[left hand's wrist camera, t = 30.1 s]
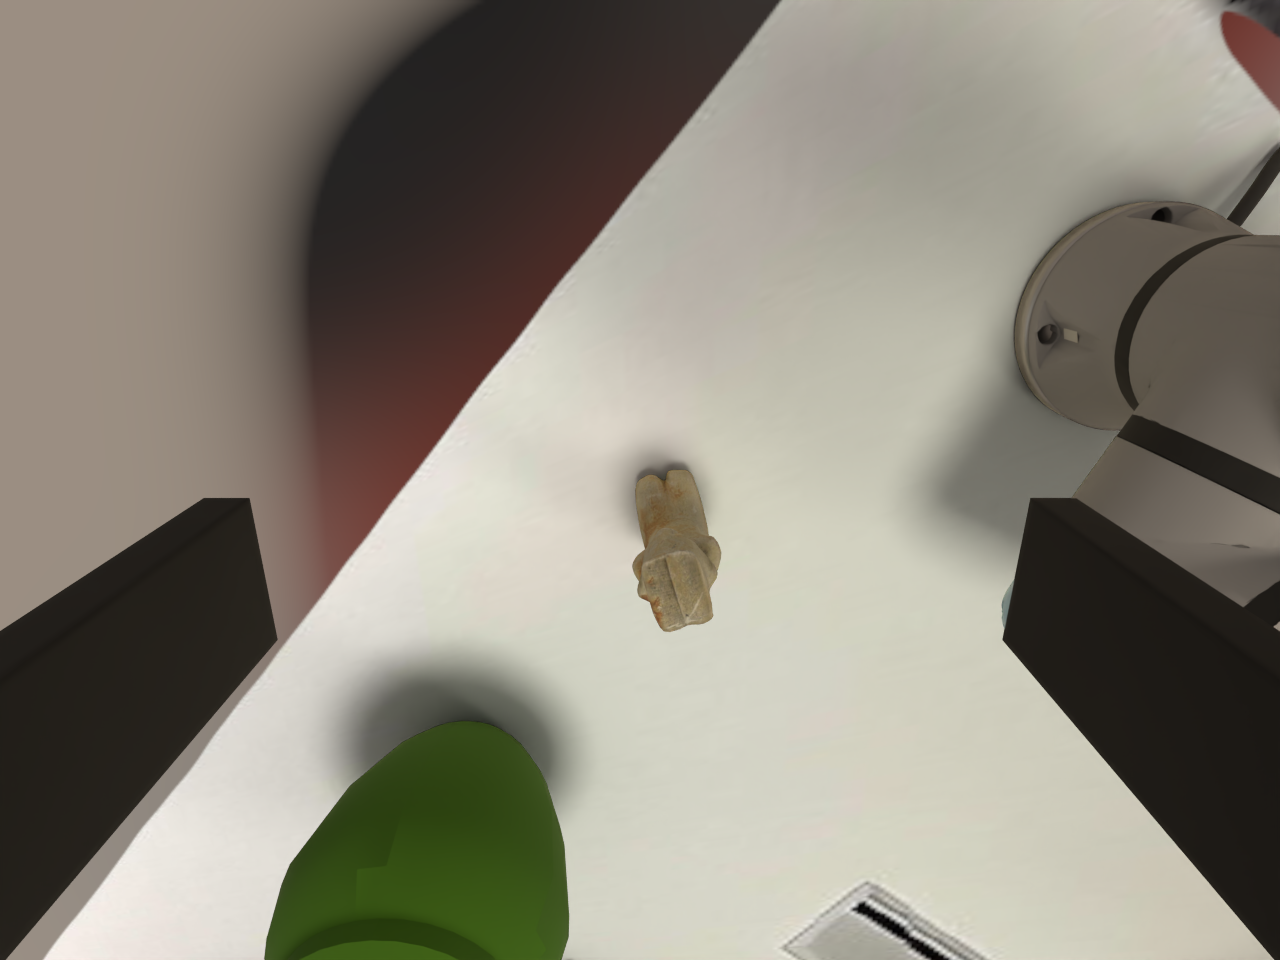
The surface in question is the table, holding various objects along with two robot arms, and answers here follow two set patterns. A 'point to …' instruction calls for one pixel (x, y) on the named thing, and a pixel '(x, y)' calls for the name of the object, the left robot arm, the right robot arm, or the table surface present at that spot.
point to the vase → (432, 860)
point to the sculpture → (675, 551)
